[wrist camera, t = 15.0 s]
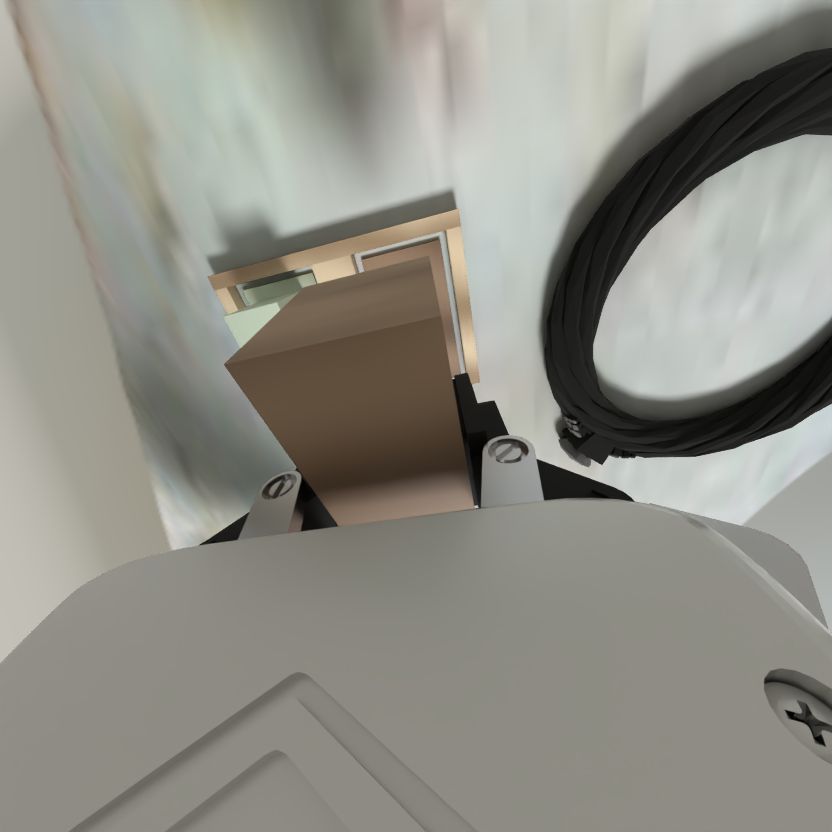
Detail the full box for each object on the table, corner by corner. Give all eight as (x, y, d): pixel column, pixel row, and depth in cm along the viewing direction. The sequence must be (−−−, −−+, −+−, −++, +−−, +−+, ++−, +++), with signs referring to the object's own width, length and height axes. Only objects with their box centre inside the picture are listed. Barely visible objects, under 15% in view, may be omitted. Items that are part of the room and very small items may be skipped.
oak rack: (477, 376, 27) (479, 382, 26) (289, 412, 30) (284, 419, 29) (456, 209, 21) (458, 208, 20) (216, 274, 23) (207, 276, 22)
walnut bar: (465, 459, 14) (484, 565, 10) (385, 471, 15) (375, 577, 11) (429, 255, 9) (441, 315, 5) (303, 287, 9) (223, 364, 5)
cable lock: (1115, 242, 18) (671, 518, 32) (1009, 241, 21) (648, 492, 35) (929, -196, 11) (462, 401, 25) (814, -98, 14) (457, 382, 28)
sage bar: (343, 388, 28) (329, 416, 24) (305, 397, 29) (284, 425, 24) (303, 289, 23) (276, 302, 19) (258, 301, 24) (222, 316, 20)
